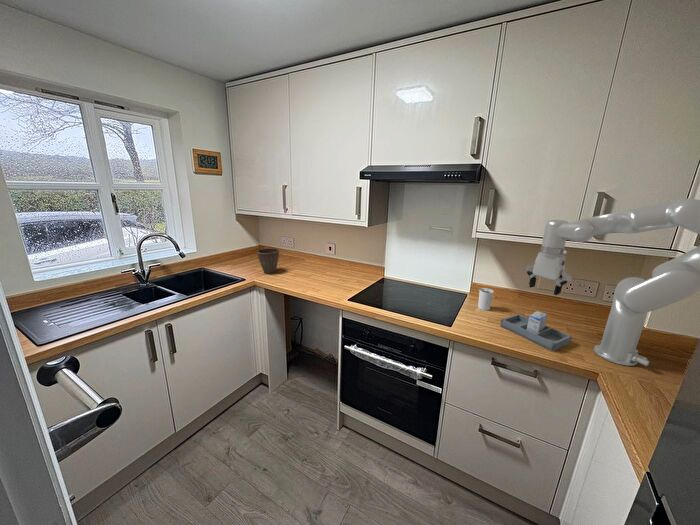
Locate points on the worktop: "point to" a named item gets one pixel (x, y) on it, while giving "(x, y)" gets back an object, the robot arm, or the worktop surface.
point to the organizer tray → (545, 338)
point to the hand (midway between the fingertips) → (543, 290)
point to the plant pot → (268, 259)
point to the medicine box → (537, 322)
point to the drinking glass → (485, 299)
